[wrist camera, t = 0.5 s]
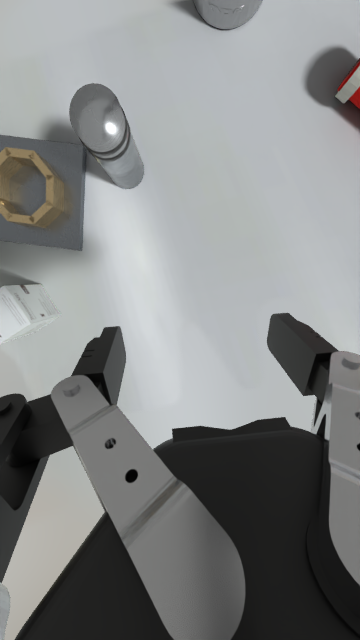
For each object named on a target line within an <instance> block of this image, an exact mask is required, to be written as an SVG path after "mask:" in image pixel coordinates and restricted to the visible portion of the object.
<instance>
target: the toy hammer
mask: <svg viewBox="0 0 360 640" xmlns="http://www.w3.org/2000/svg"><path fill="white" fill-rule="evenodd" d="M337 90H338V92H337V94H336V95H335V97H336V98H337V99H339V100H340V101H341V102H342V103H343V104H344V103H345V102H346V101H347V100H350V101H351V102H352V103H353V104H354V105H356V106H357V107H358V108H359V109H360V58H359V60H358V61H357V62H356V64H355V65H354V66H353V68H352V69H351V70H350V72H349V73H348V75H347V76H346V77H345V79H344V80H343V82H342V83H341V85H340V86H339V88H338V89H337Z"/></svg>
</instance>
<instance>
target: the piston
mask: <svg viewBox="0 0 360 640" xmlns="http://www.w3.org/2000/svg"><path fill="white" fill-rule="evenodd" d="M69 113H70V121H71V124H72V127H73V129H74V131H75V132H76V134H77V135H78V136H79V138H80V140H81V142H82V143H83V144H84V146H85V147H86V148H87V149H88V151H89V152H90V153H91V154H92V155H93V156H94V157H95V158H96V159H97V161H98V162H99V163H100V165H101V166H102V167H103V169H104V170H105V171H106V172H107V174H108V175H109V176H110V178H111V179H112V180H113V181H114V183H115V184H116V185H117V186H119V187H121V188H123V189H131V188H134V187H136V186H137V185H138V184H139V183H140V182H141V180H142V178H143V175H144V165H143V162H142V160H141V157H140V154H139V152H138V149H137V147H136V144H135V142H134V139H133V137H132V134H131V132H130V127H129V124H128V121H127V119H126V116H125V114H124V111H123V109H122V107H121V106H120V104H119V101H118V99H117V97H116V96H115V94H114V93H113V92H112V91H111V90H110V89H109V88H107V87H105V86H104V85H101V84H94V83H93V84H88V85H85V86H83V87H82V88H80V89H79V90H78V91H77V92H76V93H75V95H74V96H73V98H72V101H71V104H70V111H69Z"/></svg>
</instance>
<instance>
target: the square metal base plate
mask: <svg viewBox="0 0 360 640" xmlns="http://www.w3.org/2000/svg"><path fill="white" fill-rule="evenodd" d="M85 168H86V148H85V147H84V146H83V145H78V144H70V143H62V142H54V141H45V140H37V139H29V138H21V137H13V136H5V135H0V240H1V241H9V242H17V243H25V244H32V245H40V246H48V247H56V248H64V249H71V250H79V251H82V243H83V218H84V193H85Z"/></svg>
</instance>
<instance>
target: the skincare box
mask: <svg viewBox="0 0 360 640" xmlns="http://www.w3.org/2000/svg"><path fill="white" fill-rule="evenodd" d="M60 316H61V313H60V312H59V311H58V309H57V308H56V306H55V305H54V303H53V302H52V300H51V299H50V297H49V296H48V294H47V292H46V291H45V289H44V288H43V286H42V285H41V284H32V285H6V286H2V287H1V288H0V344H3V343H6V342H9V341H12V340H14V339H17V338H20V337H23V336H26V335H29V334H32V333H35V332H36V331H38V330H40V329H41V328H43V327H44V326H46V325H47V324H49V323H51V322H52V321H54V320H55V319H57V318H59V317H60Z"/></svg>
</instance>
